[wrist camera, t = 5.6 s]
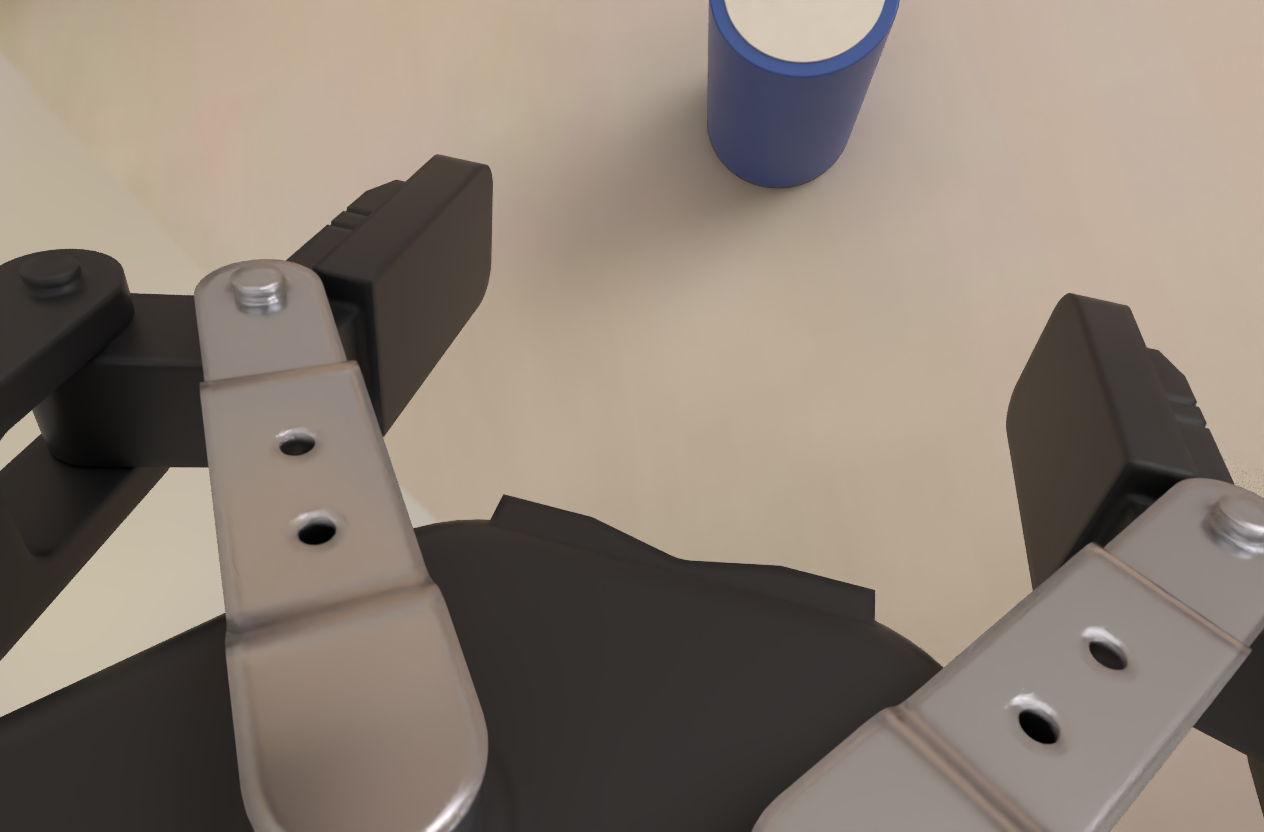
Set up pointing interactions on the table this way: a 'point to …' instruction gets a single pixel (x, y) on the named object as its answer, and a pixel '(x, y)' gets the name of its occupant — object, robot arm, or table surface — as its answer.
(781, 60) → the blue cylinder with handle
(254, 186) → the table surface
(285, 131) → the table surface
